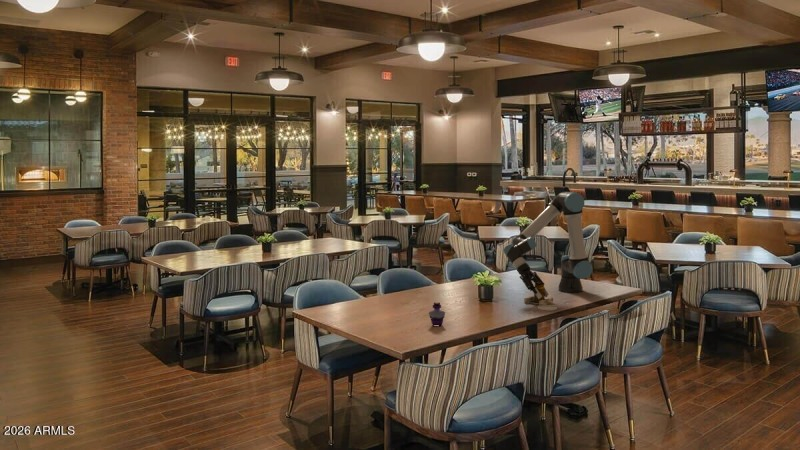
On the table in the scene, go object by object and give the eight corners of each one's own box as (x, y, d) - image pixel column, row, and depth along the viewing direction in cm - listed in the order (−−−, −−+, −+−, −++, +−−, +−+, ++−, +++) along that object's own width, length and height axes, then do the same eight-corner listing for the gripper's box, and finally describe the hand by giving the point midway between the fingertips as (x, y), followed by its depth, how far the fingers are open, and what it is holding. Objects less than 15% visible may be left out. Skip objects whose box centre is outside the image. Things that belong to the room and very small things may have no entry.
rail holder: (536, 300, 385) (536, 295, 384) (553, 303, 376) (553, 298, 375) (524, 303, 377) (524, 298, 377) (540, 306, 368) (540, 301, 368)
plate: (545, 305, 371) (545, 303, 370) (561, 308, 362) (561, 306, 362) (533, 308, 363) (533, 306, 363) (549, 311, 355) (549, 310, 355)
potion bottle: (444, 322, 335) (444, 300, 334) (446, 327, 326) (446, 304, 325) (428, 323, 334) (427, 301, 333) (429, 327, 326) (429, 304, 325)
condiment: (547, 302, 375) (547, 282, 374) (537, 304, 370) (537, 284, 369) (538, 300, 381) (538, 280, 380) (528, 302, 376) (528, 282, 375)
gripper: (527, 268, 392) (550, 298, 382) (508, 272, 380) (530, 303, 369) (534, 260, 388) (557, 290, 377) (514, 264, 375) (537, 295, 365)
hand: (543, 296), depth 373 cm, fingers closed on condiment, 6 cm apart
